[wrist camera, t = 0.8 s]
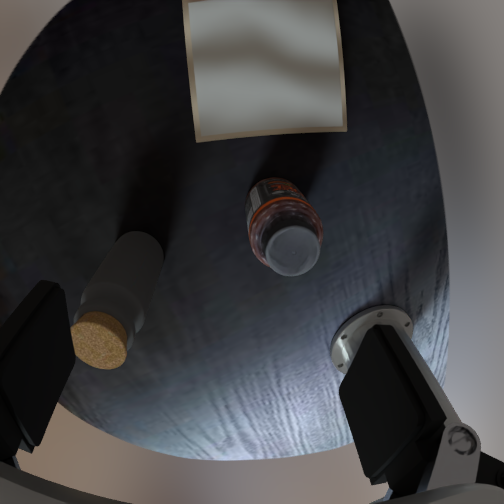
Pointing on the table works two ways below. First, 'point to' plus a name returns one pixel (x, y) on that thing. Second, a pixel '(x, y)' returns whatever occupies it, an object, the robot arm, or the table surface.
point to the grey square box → (264, 67)
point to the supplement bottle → (283, 227)
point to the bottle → (117, 300)
